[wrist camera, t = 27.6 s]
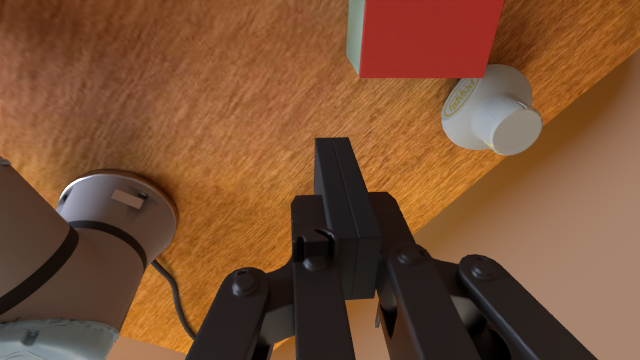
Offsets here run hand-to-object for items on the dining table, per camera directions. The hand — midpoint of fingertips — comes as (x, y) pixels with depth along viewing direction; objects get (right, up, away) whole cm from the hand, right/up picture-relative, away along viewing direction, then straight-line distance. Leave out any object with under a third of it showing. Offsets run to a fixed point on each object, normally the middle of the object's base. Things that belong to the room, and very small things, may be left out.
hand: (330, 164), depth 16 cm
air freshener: (+20, +10, +30) cm, 37 cm away
